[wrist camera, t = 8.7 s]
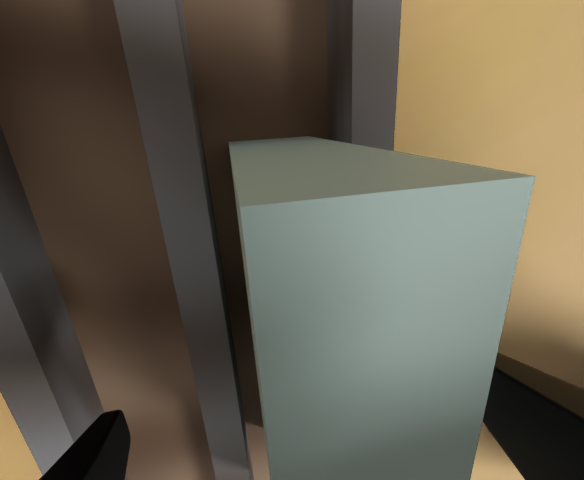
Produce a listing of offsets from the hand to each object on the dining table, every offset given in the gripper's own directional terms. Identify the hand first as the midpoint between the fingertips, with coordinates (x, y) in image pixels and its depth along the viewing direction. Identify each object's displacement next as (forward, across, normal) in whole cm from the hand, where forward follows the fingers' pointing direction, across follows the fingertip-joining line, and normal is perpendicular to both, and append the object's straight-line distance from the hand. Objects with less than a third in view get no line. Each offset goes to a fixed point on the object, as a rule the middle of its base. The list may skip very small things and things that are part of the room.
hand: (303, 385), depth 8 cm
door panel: (+4, 0, 0) cm, 4 cm away
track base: (+5, +2, 0) cm, 6 cm away
